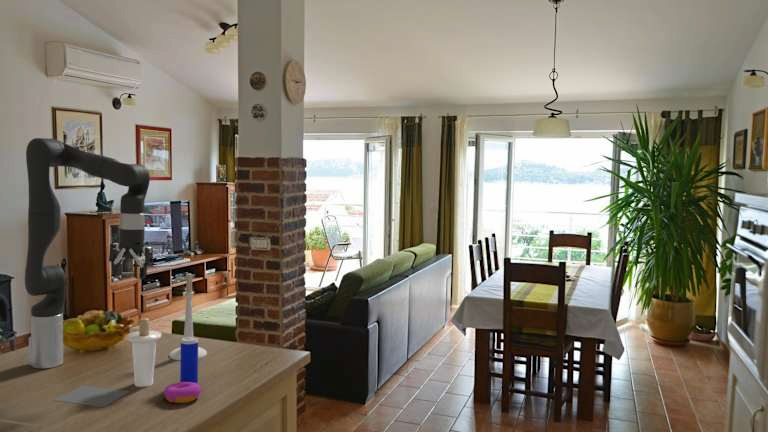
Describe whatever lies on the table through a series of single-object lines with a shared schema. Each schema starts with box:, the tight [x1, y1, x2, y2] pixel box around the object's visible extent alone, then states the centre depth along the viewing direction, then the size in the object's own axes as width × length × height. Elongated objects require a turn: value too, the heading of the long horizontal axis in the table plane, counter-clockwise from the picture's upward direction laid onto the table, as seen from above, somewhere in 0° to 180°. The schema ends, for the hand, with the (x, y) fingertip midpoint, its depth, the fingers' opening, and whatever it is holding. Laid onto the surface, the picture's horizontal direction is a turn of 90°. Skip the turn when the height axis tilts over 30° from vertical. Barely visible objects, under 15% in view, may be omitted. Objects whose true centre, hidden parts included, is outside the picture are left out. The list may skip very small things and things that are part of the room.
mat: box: [53, 385, 130, 408], centre depth 174 cm, size 16×12×1 cm
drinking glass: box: [131, 341, 157, 388], centre depth 185 cm, size 7×7×15 cm
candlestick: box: [169, 273, 208, 361], centre depth 215 cm, size 13×13×30 cm
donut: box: [163, 382, 202, 404], centre depth 176 cm, size 10×10×5 cm
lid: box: [125, 317, 162, 343], centre depth 184 cm, size 10×10×6 cm
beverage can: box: [179, 336, 199, 385], centre depth 186 cm, size 5×5×15 cm
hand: (130, 277), depth 192 cm, fingers open, 8 cm apart
